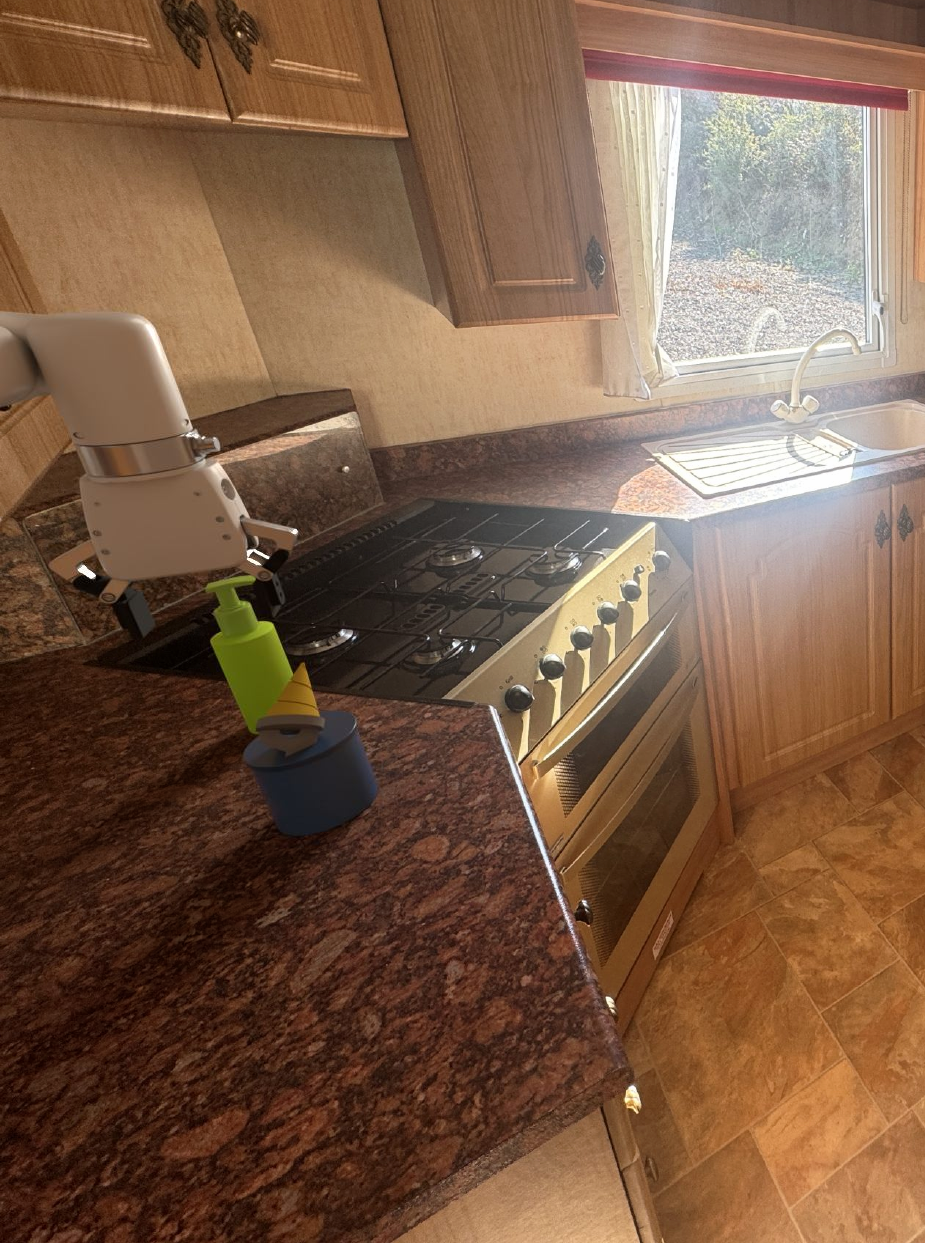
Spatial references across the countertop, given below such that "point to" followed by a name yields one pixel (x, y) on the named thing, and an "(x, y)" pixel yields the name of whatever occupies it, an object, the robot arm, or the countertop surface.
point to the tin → (315, 778)
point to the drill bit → (292, 717)
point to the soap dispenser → (248, 652)
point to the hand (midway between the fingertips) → (211, 622)
